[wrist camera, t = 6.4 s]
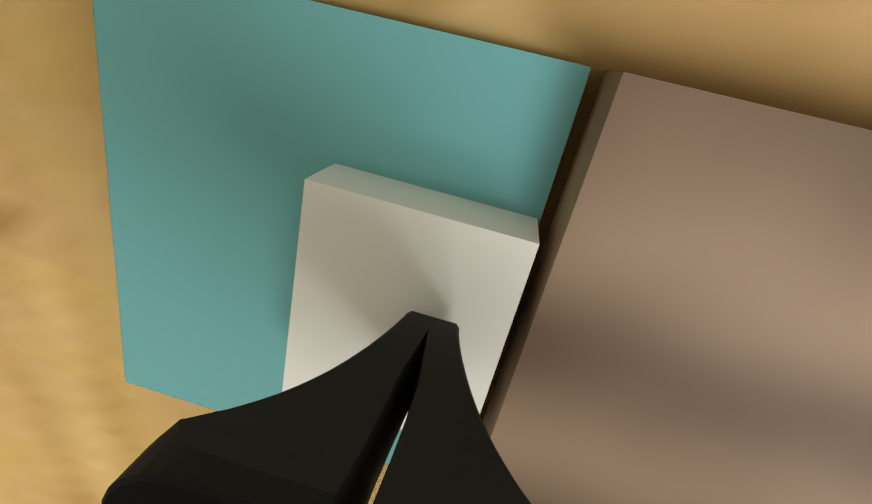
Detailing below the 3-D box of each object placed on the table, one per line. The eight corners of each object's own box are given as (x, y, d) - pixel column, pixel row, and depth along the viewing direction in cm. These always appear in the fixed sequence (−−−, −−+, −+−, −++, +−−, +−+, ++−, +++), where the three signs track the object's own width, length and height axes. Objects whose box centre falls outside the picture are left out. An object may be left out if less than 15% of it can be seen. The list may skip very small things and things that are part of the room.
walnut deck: (777, 573, 17) (817, 653, 14) (463, 475, 18) (454, 535, 15) (1110, 190, 11) (1271, 225, 8) (603, 70, 12) (623, 71, 9)
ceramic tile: (473, 405, 15) (467, 450, 14) (309, 354, 16) (281, 392, 14) (537, 218, 13) (539, 244, 11) (335, 163, 13) (304, 178, 11)
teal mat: (453, 471, 18) (451, 484, 17) (137, 372, 19) (125, 381, 18) (588, 66, 12) (591, 67, 11) (107, -48, 13) (88, -52, 12)
